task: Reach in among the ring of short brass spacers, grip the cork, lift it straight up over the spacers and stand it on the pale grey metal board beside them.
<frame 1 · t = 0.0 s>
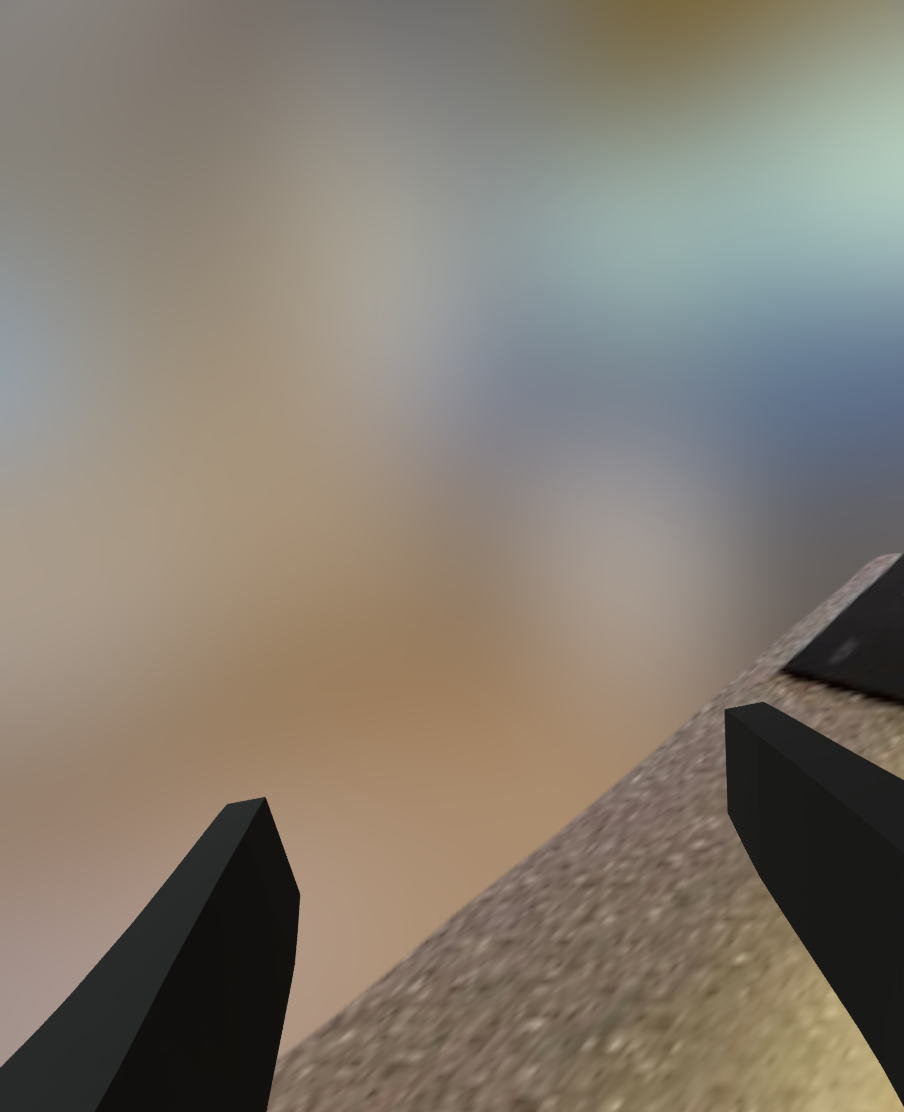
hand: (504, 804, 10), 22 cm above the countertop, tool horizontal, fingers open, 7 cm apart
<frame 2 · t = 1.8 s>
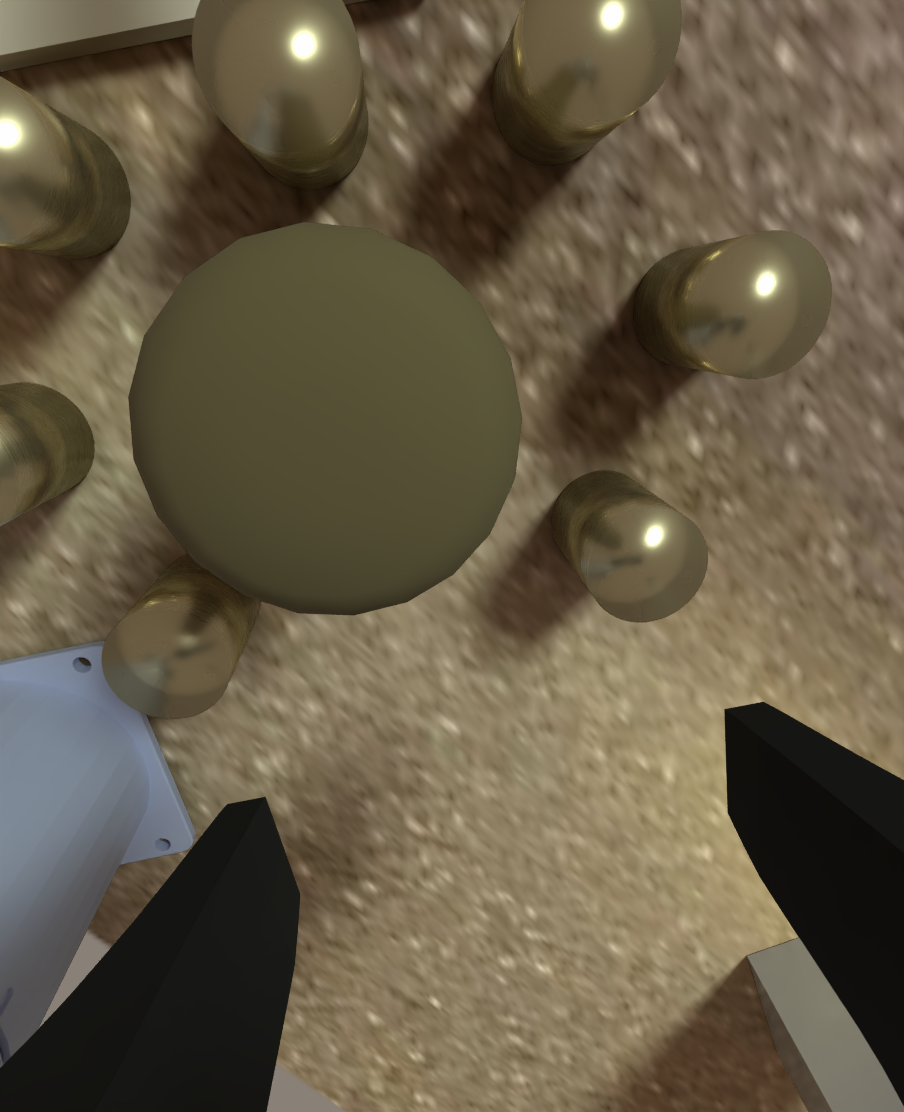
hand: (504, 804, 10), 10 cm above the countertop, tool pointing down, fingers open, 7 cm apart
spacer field: (363, 373, 18), on the countertop
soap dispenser: (857, 966, 28), on the countertop
cork: (363, 372, 18), resting in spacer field
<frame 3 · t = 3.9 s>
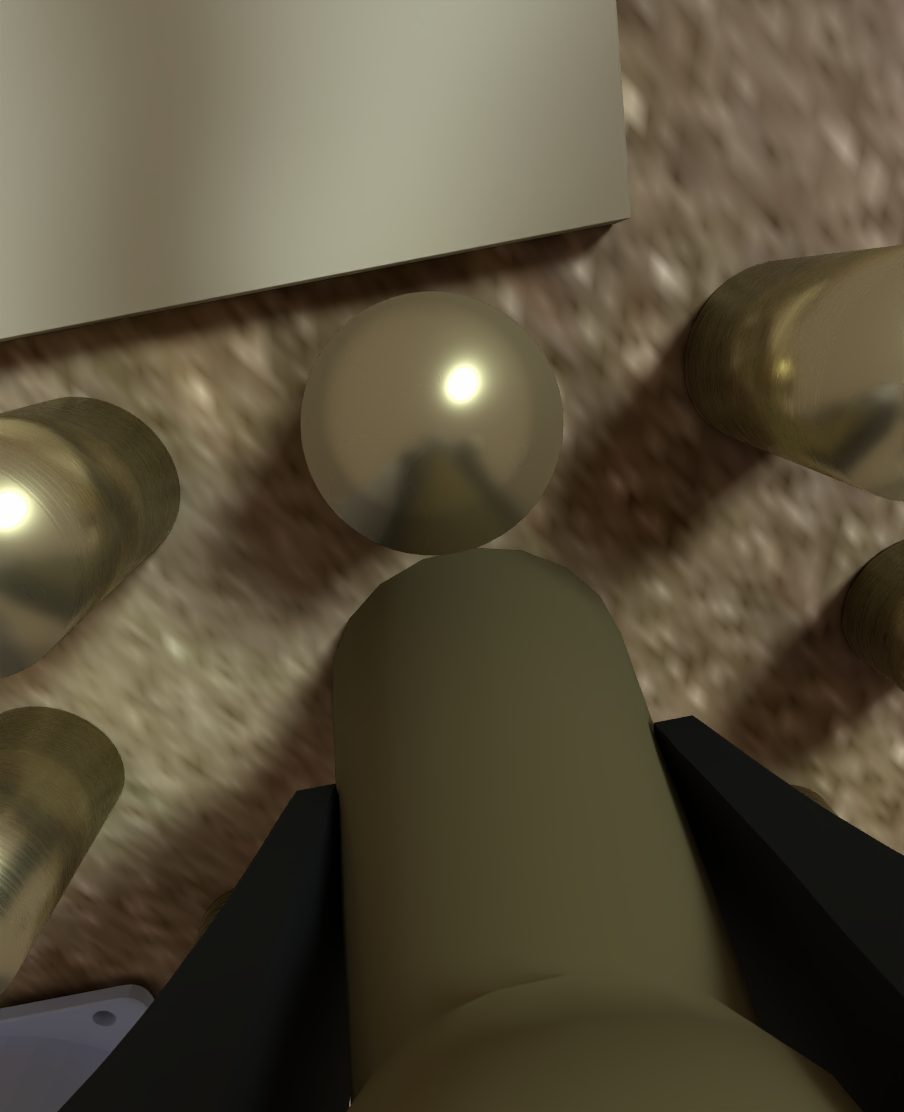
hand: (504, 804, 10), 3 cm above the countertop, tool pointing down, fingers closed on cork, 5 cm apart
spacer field: (480, 686, 13), on the countertop
cork: (479, 680, 14), resting in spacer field, touching gripper
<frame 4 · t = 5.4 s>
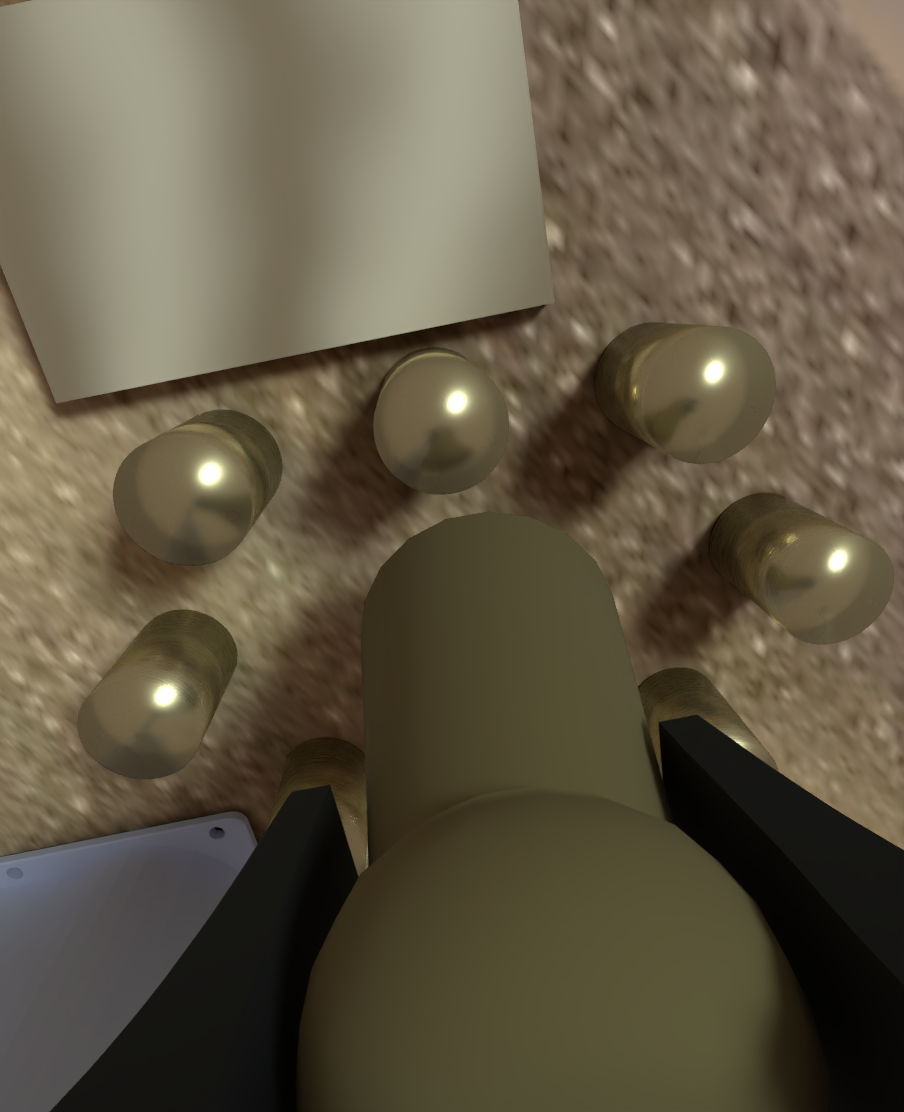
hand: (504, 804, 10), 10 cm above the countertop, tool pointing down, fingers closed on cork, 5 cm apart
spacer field: (471, 596, 20), on the countertop
pale grey metal board: (266, 183, 16), on the countertop
cork: (488, 630, 16), point 5 cm above the countertop, touching gripper
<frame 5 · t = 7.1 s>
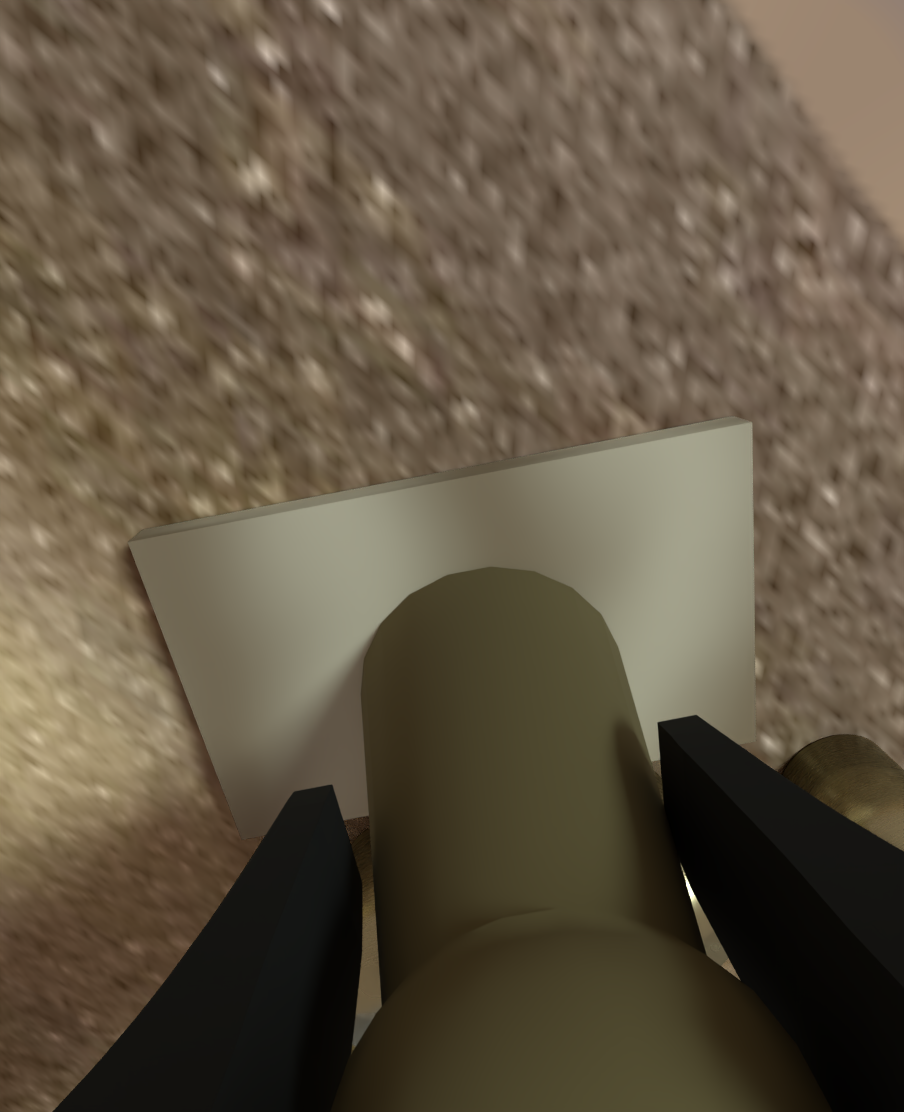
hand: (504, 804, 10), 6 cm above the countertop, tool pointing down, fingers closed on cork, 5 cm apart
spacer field: (632, 961, 20), on the countertop
pale grey metal board: (468, 634, 16), on the countertop
cork: (491, 683, 15), point 1 cm above the countertop, touching pale grey metal board, gripper
when the fingers open (5 cm above the countertop, at t = 7.8 s): cork stays where it is, resting on pale grey metal board.
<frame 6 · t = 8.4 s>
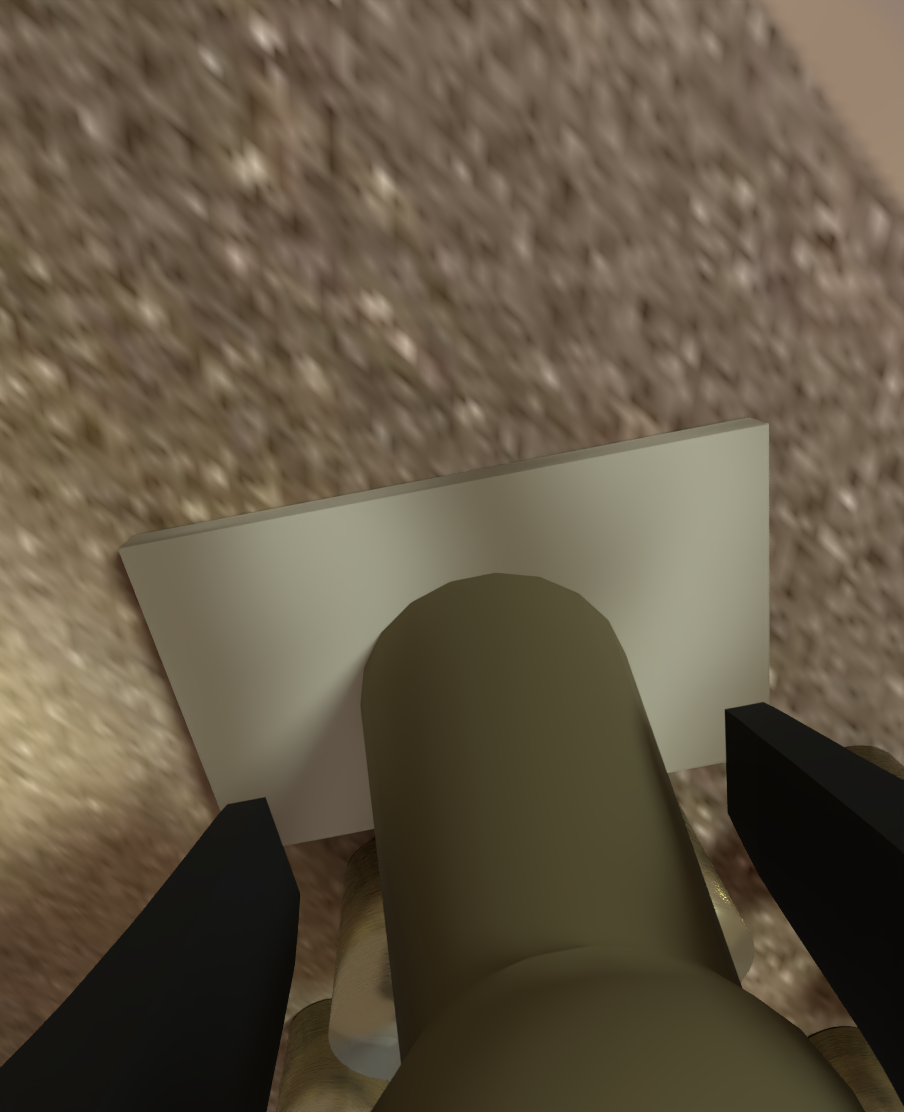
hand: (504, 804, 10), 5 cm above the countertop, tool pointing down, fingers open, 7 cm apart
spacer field: (639, 977, 19), on the countertop
pale grey metal board: (472, 643, 15), on the countertop
cork: (495, 692, 15), point 1 cm above the countertop, touching pale grey metal board
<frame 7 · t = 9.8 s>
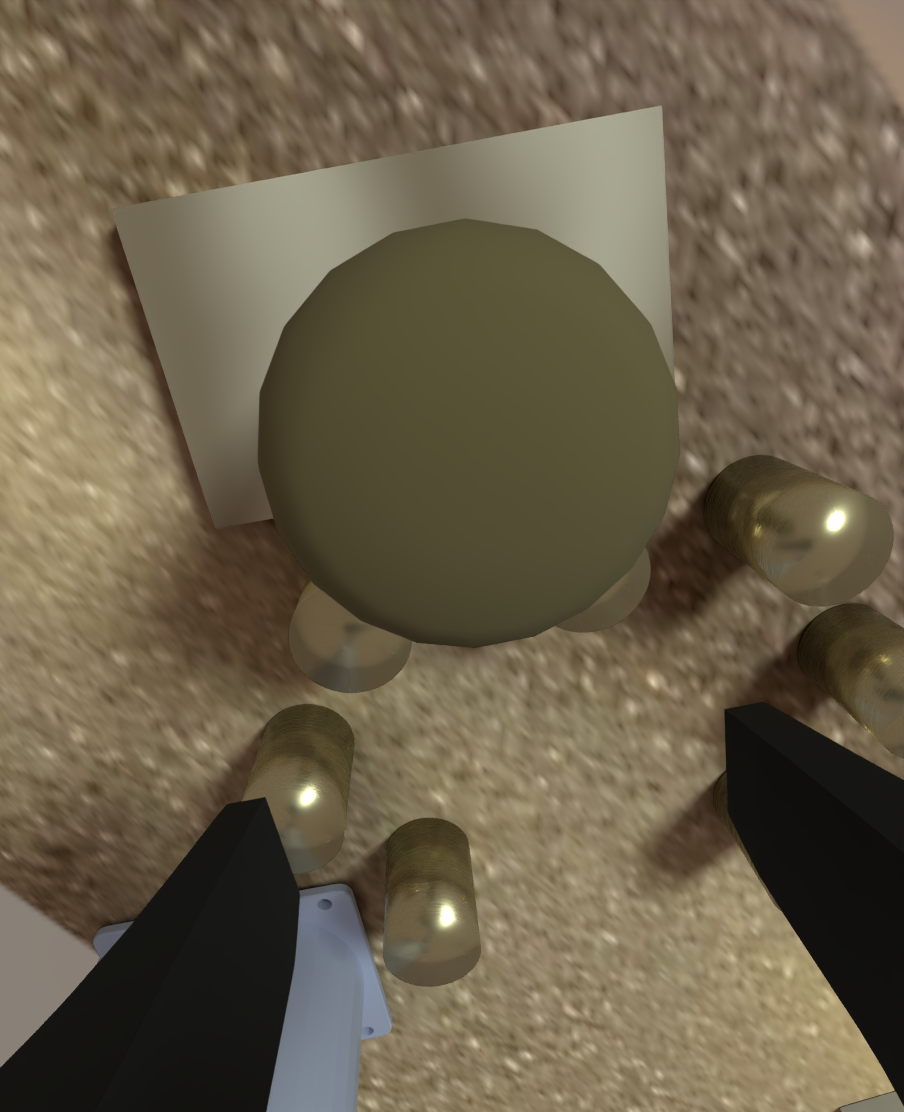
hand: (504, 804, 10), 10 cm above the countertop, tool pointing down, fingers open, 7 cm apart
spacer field: (575, 693, 22), on the countertop
pale grey metal board: (418, 334, 17), on the countertop
cork: (436, 373, 17), point 1 cm above the countertop, touching pale grey metal board
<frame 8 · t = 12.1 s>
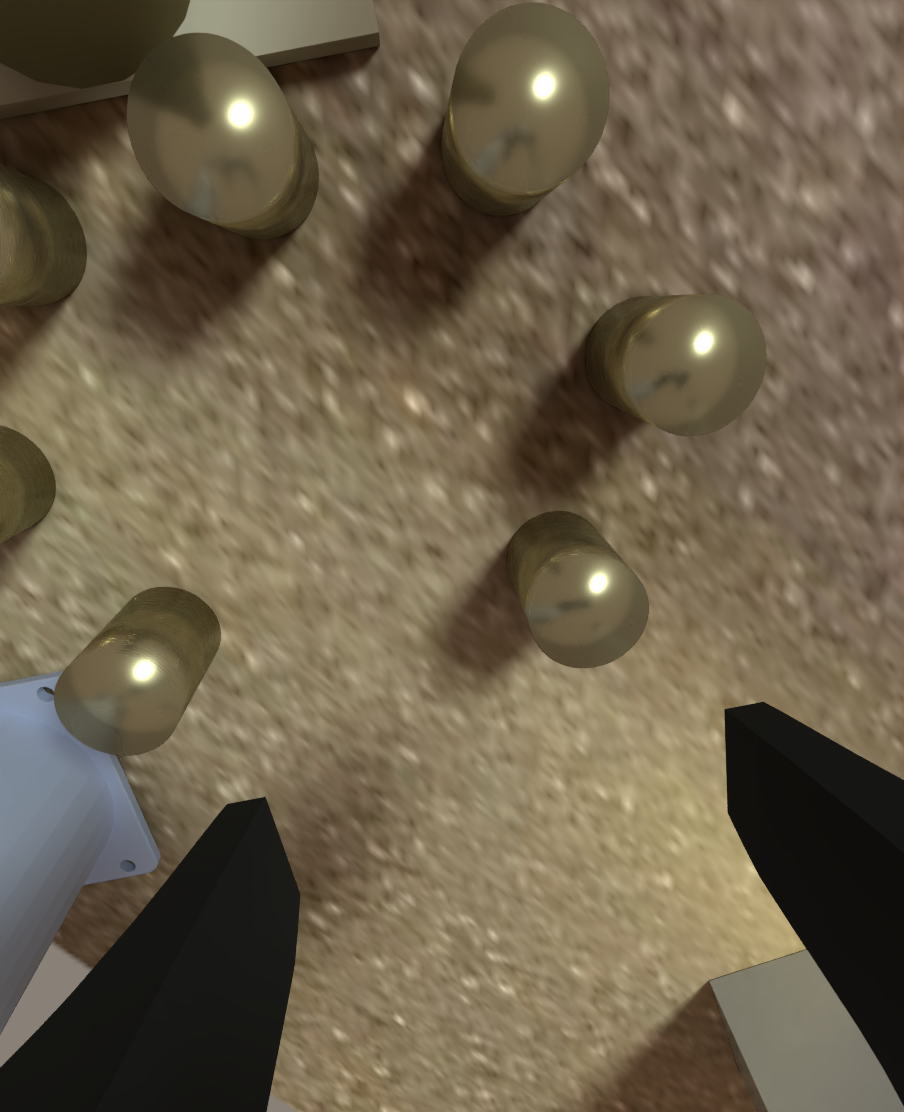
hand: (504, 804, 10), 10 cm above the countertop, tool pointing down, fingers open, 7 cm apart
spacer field: (318, 416, 18), on the countertop
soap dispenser: (820, 992, 28), on the countertop
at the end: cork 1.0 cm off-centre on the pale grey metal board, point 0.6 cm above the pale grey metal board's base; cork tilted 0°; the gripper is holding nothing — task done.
